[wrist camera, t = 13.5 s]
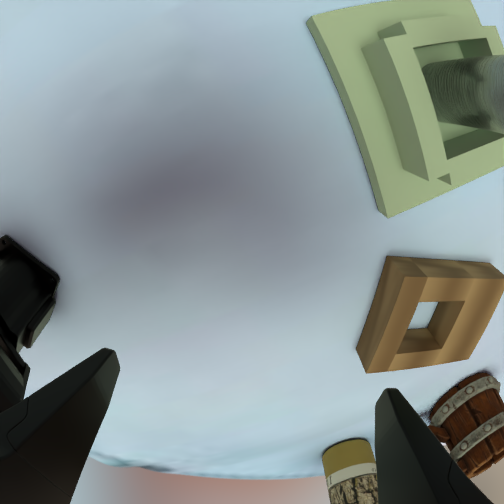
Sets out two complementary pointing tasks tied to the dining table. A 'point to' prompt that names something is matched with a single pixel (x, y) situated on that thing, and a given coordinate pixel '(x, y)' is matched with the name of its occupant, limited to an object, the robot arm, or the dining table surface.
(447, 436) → the mug
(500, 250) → the dining table surface
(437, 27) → the socket stand
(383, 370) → the wooden rectangular frame
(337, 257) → the dining table surface
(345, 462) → the bark textured cylinder
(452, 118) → the grey glass peg
